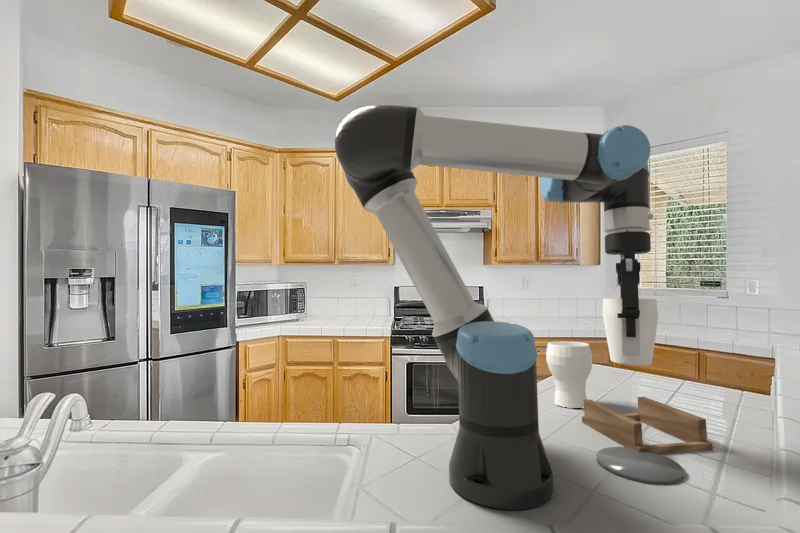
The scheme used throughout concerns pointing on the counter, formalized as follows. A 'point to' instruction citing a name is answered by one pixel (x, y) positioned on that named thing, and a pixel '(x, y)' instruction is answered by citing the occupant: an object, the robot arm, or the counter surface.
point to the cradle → (655, 415)
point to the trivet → (640, 465)
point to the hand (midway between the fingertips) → (630, 351)
